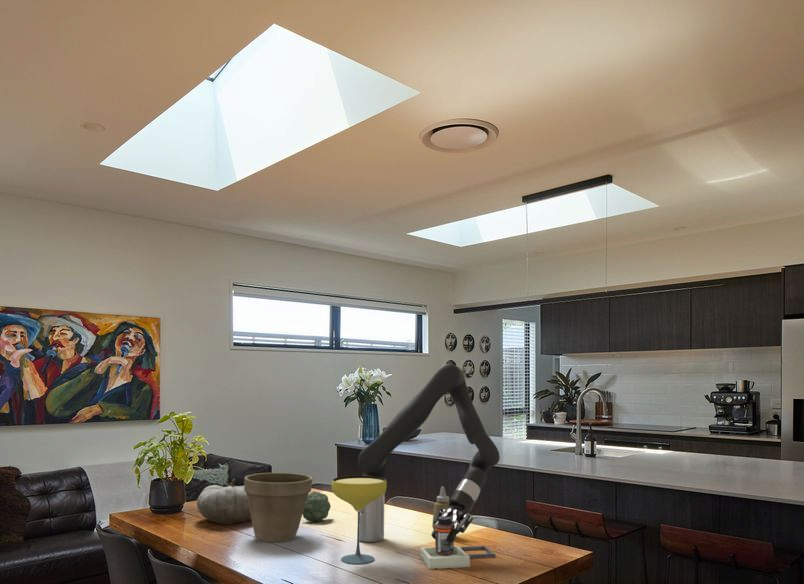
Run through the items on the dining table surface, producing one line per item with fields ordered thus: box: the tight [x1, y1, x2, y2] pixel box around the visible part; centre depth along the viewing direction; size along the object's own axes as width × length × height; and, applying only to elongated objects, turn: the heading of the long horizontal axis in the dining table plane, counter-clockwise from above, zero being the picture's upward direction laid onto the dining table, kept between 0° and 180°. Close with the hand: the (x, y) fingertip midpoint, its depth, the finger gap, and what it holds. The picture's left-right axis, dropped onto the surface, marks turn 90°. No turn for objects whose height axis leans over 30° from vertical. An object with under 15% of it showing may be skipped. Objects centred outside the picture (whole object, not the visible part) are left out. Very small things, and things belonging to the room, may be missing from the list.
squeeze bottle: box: [431, 486, 453, 531], centre depth 232 cm, size 8×8×18 cm
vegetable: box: [302, 491, 332, 523], centre depth 257 cm, size 12×13×15 cm
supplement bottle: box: [434, 516, 455, 556], centre depth 199 cm, size 6×6×11 cm
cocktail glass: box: [331, 475, 388, 565], centre depth 201 cm, size 18×18×25 cm
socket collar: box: [459, 545, 496, 559], centre depth 208 cm, size 10×10×1 cm
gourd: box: [196, 478, 252, 526], centre depth 253 cm, size 25×25×17 cm
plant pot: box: [243, 472, 314, 543], centre depth 228 cm, size 25×25×22 cm
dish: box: [419, 545, 471, 570], centre depth 198 cm, size 13×13×3 cm
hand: (441, 539), depth 198 cm, fingers closed on supplement bottle, 6 cm apart
